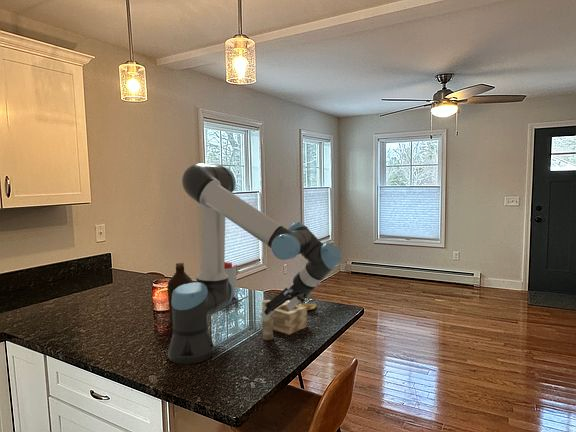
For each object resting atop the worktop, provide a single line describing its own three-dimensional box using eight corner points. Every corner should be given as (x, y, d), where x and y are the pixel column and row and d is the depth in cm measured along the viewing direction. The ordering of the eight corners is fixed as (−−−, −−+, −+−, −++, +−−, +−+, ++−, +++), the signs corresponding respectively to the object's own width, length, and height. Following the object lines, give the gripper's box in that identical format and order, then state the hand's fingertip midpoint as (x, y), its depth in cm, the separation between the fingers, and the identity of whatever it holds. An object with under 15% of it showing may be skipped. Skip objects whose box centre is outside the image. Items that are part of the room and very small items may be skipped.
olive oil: (190, 326, 158) (189, 265, 156) (165, 326, 158) (162, 266, 156) (197, 317, 169) (195, 260, 167) (173, 317, 169) (171, 261, 167)
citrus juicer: (245, 298, 196) (245, 259, 195) (214, 304, 187) (213, 263, 185) (232, 291, 209) (231, 254, 208) (201, 296, 200) (200, 258, 198)
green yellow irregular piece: (282, 312, 175) (284, 279, 175) (307, 307, 189) (309, 276, 189) (299, 316, 169) (300, 282, 169) (323, 310, 182) (325, 279, 182)
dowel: (268, 340, 142) (267, 303, 141) (260, 338, 145) (259, 301, 144) (275, 337, 145) (274, 301, 144) (267, 334, 148) (267, 299, 147)
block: (289, 334, 148) (289, 314, 148) (268, 327, 155) (268, 308, 155) (307, 326, 156) (306, 307, 156) (286, 320, 164) (286, 302, 163)
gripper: (289, 296, 120) (256, 331, 131) (335, 280, 139) (303, 312, 150) (276, 276, 123) (245, 312, 134) (323, 264, 142) (292, 296, 153)
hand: (276, 312), depth 142 cm, fingers open, 13 cm apart
